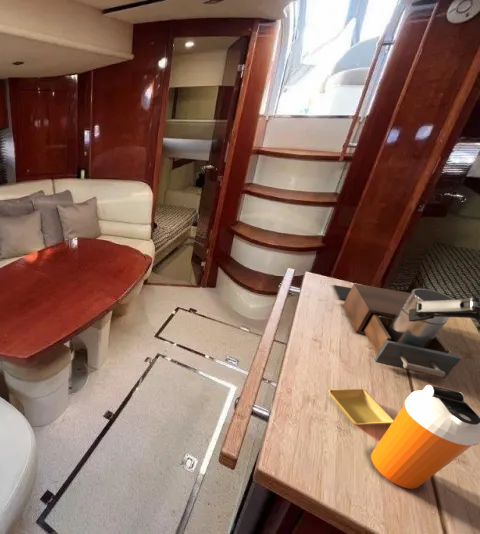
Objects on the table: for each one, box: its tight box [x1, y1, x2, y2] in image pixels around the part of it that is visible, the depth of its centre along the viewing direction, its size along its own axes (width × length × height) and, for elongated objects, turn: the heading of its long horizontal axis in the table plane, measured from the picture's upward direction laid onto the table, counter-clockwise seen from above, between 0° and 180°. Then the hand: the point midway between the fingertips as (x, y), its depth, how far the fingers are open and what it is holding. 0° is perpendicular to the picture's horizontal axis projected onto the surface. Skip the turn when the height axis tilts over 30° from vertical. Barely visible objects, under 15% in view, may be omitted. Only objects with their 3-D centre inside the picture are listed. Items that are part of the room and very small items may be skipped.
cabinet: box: [342, 283, 411, 336], centre depth 92 cm, size 15×15×9 cm
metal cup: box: [387, 288, 455, 348], centre depth 79 cm, size 8×8×17 cm
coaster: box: [333, 284, 352, 301], centre depth 108 cm, size 9×9×1 cm
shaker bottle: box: [370, 384, 480, 489], centre depth 54 cm, size 9×9×20 cm
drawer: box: [364, 313, 462, 379], centre depth 80 cm, size 18×14×7 cm
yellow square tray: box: [328, 388, 395, 426], centre depth 69 cm, size 9×9×2 cm
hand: (450, 323), depth 68 cm, fingers open, 13 cm apart
